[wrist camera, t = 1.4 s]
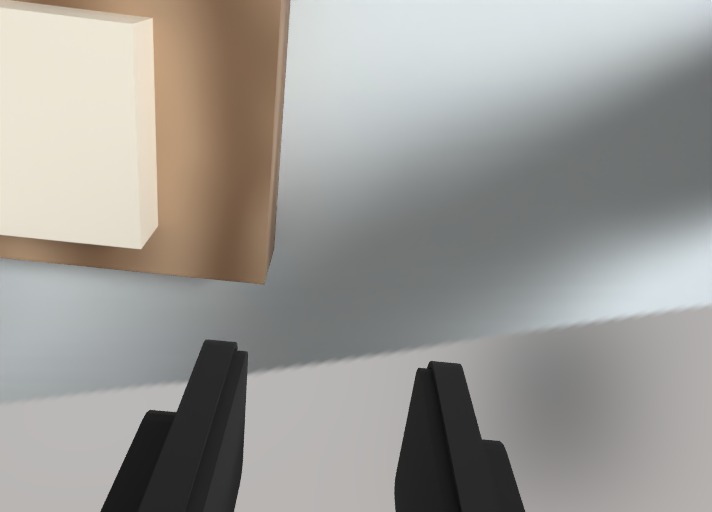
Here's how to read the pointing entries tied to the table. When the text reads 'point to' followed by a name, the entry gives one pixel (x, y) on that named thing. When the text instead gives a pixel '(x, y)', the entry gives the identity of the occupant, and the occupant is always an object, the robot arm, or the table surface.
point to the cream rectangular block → (77, 125)
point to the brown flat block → (202, 141)
